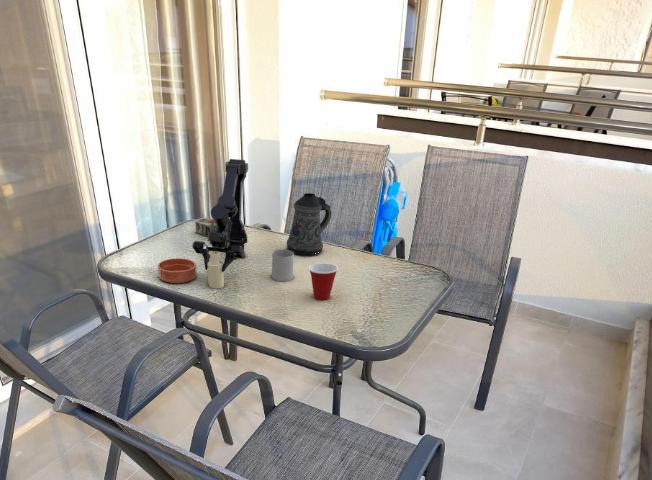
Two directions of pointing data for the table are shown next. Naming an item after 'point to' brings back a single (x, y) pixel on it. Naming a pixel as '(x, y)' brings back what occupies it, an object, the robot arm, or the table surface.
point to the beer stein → (308, 225)
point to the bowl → (177, 270)
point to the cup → (282, 265)
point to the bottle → (215, 271)
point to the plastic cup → (322, 279)
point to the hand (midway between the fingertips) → (214, 270)
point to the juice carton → (205, 226)
